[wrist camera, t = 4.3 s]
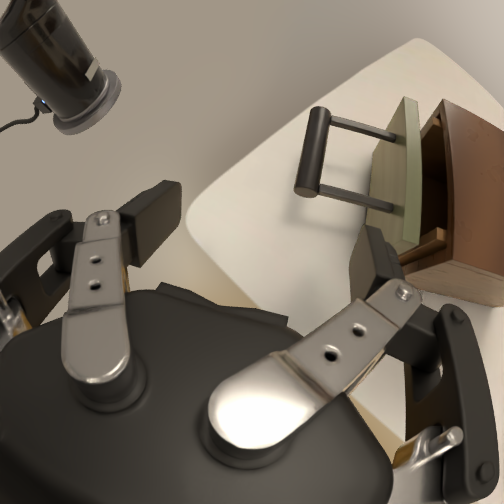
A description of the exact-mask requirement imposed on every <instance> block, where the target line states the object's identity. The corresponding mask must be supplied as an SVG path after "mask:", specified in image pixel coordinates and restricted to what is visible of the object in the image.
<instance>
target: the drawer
mask: <svg viewBox="0 0 504 504" xmlns="http://www.w3.org/2000/svg"><path fill="white" fill-rule="evenodd" d="M330 125H332V126H336V127H340V128H344V129H347V130H351V131H355V132H358V133H362V134H365V135H369V136H372V137H375V138H378V139H380V141H379V143H378V145H377V146H376V148H375V150H374V152H373V158H372V171H371V182H370V192H369V196H366V195H362V194H359V193H355V192H351V191H348V190H344V189H340V188H336V187H332V186H328V185H324V184H320V179H321V174H322V168H323V163H324V157H325V151H326V145H327V139H328V133H329V126H330ZM293 190H294V192H295V193H296V194H297V195H299V196H302V197H306V198H314V197H316V196H317V195H322V196H326V197H330V198H334V199H337V200H341V201H345V202H349V203H353V204H356V205H360V206H364V207H367V208H368V209H367V217H366V225H370V226H373V227H377V228H380V229H381V231H382V234H383V237H384V240H385V242H389V243H390V244H391V245H392V246H393V248H394V249H395V250H396V252H397V255H398V259H399V261H400V265H401V266H405V265H407V264H410V263H412V262H415V261H417V260H420V259H422V258H425V257H427V256H429V255H432V254H434V253H437V252H439V251H441V250H444V249H446V248H447V227H448V189H447V168H446V155H445V145H444V136H443V129H442V122H441V120H439V119H437V118H434V117H432V119H431V120H430V121H429V123H428V124H427V126H426V127H425V128H424V130H423V131H422V132H421V134H420V124H419V113H418V104H417V101H415V100H413V99H410V98H407V97H405V96H404V97H403V99H402V101H401V102H400V104H399V106H398V108H397V110H396V112H395V114H394V116H393V117H392V119H391V121H390V123H389V125H388V127H387V128H386V130H382V129H379V128H376V127H373V126H369V125H366V124H363V123H359V122H356V121H352V120H348V119H344V118H341V117H337V116H333V115H332V116H331V113H330V111H329V110H328V109H326V108H324V107H320V106H317V107H313V108H312V109H311V111H310V115H309V120H308V125H307V130H306V134H305V139H304V144H303V148H302V153H301V158H300V162H299V167H298V171H297V176H296V180H295V184H294V189H293Z"/></svg>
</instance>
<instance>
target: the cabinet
mask: <svg viewBox="0 0 504 504" xmlns="http://www.w3.org/2000/svg"><path fill="white" fill-rule="evenodd" d="M432 117H434V118H437V119H439V120H441V122H442V129H443V136H444V145H445V155H446V168H447V189H448V227H447V248H446V249H444V250H441V251H439V252H437V253H434V254H432V255H429V256H427V257H425V258H422V259H420V260H417V261H415V262H412V263H410V264H407V265H405V266H401V267H402V270H403V273H404V276H405V280H406V281H407V282H409V283H411V284H412V285H413V286H415V287H416V288H417V289H420V290H424V291H428V292H432V293H437V294H441V295H445V296H449V297H453V298H457V299H461V300H465V301H469V302H473V303H477V304H481V305H486V306H490V307H504V131H502V130H500V129H499V128H497V127H496V126H494V125H492V124H491V123H489V122H487V121H485V120H484V119H482V118H480V117H478V116H477V115H475V114H473V113H471V112H469V111H467V110H465V109H463V108H461V107H460V106H458V105H455V104H453V103H451V102H449V101H447V100H445V99H442V101H441V102H440V104H439V105H438V107H437V108H436V109H435V111H434V112H433V114H432V115H431V117H430V118H429V120H428V121H427V122H426V124H425V125H424V127H423V128H422V129H421V131H420V134H421V132H422V131H423V130H424V128H425V127H426V126H427V124H428V123H429V121H430V120H431V119H432Z"/></svg>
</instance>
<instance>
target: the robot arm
mask: <svg viewBox="0 0 504 504" xmlns="http://www.w3.org/2000/svg"><path fill="white" fill-rule="evenodd" d="M0 56H1V57H2V58H3V59H4V60H5V61H6V62H7V63H8V64H9V66H11V68H12V69H13V70H14V71H15V72H16V73H17V74H18V75H19V76H20V77H21V78H22V79H23V81H24V83H25V84H26V85H27V86H28V87H29V88H30V89H31V90H32V91H33V92H34V93H35V94H36V95H37V98H36V99H35V101H34V102H33V104H34V105H35V108H34V110H35V115H34V116H33V117H32V118H30V119H22V120H15V121H12V122H10V123H8V124H6V125H5V126H3V127H1V128H0V132H2V131H4V130H5V129H7V128H9V127H11V126H13V125H16V124H27V123H31V122H33V121H35V120H36V118H37V117H38V116H39V110H40V111H41V112H42V113H43V114H44V113H51V112H53V113H54V114H55V115H57V117H58V118H59V119H60V120H61V121H63V122H66V123H69V122H73V121H76V120H78V119H80V118H82V117H84V116H85V115H87V114H88V113H89V112H90V111H92V110H93V109H94V108H95V107H96V106H97V105H98V104H99V103H100V102H101V100H102V99H103V98H104V96H105V95H106V93H107V91H108V89H109V85H110V81H109V78H108V77H107V75H106V74H105V73H104V72H103V71H102V69H101V68H100V66H99V64H100V63H99V62H98V60H97V59H96V57H95V58H94V57H93V55H92V54H91V52H90V51H89V49H88V48H87V46H86V44H85V43H84V42H83V40H82V38H81V37H80V35H79V34H78V32H77V31H76V29H75V27H74V26H73V24H72V23H71V21H70V20H69V18H68V16H67V15H66V14H65V12H64V10H63V9H62V7H61V6H60V4H59V2H58V1H57V0H10V2H9V4H8V6H7V8H6V10H5V11H4V13H3V14H2V16H1V17H0ZM181 197H182V187H181V184H180V183H179V182H174V181H167V180H163V181H162V182H160V183H159V184H158V185H156V186H154V187H153V188H151V189H148V190H146V191H143V192H141V193H140V194H138V195H137V196H136V197H134V198H133V199H131V200H130V201H129V202H127V203H126V204H124V205H123V206H122V207H120V208H119V209H118V210H116V211H113V210H102V211H98V212H95V213H93V214H91V215H90V216H88V218H87V219H86V221H85V222H73V219H72V214H71V212H70V211H68V210H57V211H53V212H51V213H49V214H47V215H46V216H44V217H43V218H42V219H40V220H39V221H38V222H36V223H35V224H34V225H33V226H31V227H30V228H29V229H27V230H26V231H25V232H24V233H23V234H21V235H20V236H19V237H18V238H16V239H15V240H14V241H13V242H12V243H11V244H9V245H8V246H7V247H6V248H5V249H3V250H2V251H1V252H0V504H470V503H473V502H476V501H478V500H481V499H483V498H485V497H487V496H489V495H490V494H491V493H492V492H493V490H494V489H495V487H496V485H497V483H498V479H499V452H498V440H497V431H496V424H495V417H494V410H493V405H492V399H491V394H490V389H489V385H488V380H487V376H486V372H485V368H484V364H483V360H482V356H481V353H480V349H479V346H478V343H477V339H476V336H475V333H474V330H473V327H472V324H471V321H470V319H469V317H468V316H467V314H466V313H465V312H464V311H463V310H462V309H460V308H459V307H457V306H455V305H453V304H445V305H443V306H442V308H441V309H440V311H439V312H436V311H434V310H432V309H430V308H428V307H426V306H424V305H423V304H421V302H422V297H421V294H420V292H419V291H418V289H417V288H416V287H415V286H413V285H412V284H411V283H409V282H407V281H406V280H405V276H404V273H403V270H402V267H401V265H400V261H399V259H398V255H397V252H396V250H395V249H394V248H393V246H392V245H391V244H390V243H389V242H385V240H384V237H383V234H382V231H381V229H380V228H377V227H373V226H370V225H366V224H364V225H363V226H362V228H361V230H360V233H359V236H358V239H357V242H356V244H355V247H354V250H353V252H352V255H351V259H350V263H349V277H350V292H351V303H350V304H349V305H348V306H346V307H345V308H344V309H342V310H341V311H340V312H338V313H337V314H336V315H334V316H333V317H332V318H330V319H329V320H327V321H326V322H325V323H323V324H322V325H321V326H319V327H318V328H316V329H315V330H314V331H312V332H311V333H309V334H308V335H306V336H305V337H303V336H302V335H301V334H299V333H298V332H296V331H295V330H293V329H291V328H289V327H287V322H288V316H284V315H280V314H276V313H272V312H268V311H264V310H260V309H256V308H243V307H230V306H220V305H217V304H215V303H213V302H211V301H209V300H207V299H205V298H204V297H202V296H200V295H198V294H196V293H194V292H192V291H190V290H187V289H183V288H180V287H177V286H173V285H170V284H167V283H164V282H161V283H160V284H159V286H158V287H157V288H156V290H136V291H131V292H130V287H129V280H128V271H127V266H128V265H132V266H135V267H139V268H141V267H142V265H143V264H144V263H145V262H146V261H147V260H148V259H149V258H150V256H151V255H152V254H153V253H154V252H155V251H156V250H157V249H158V248H159V246H160V245H161V244H162V243H163V242H164V241H165V240H166V239H167V238H168V237H169V236H170V234H171V233H172V232H173V231H174V230H175V229H176V228H177V227H178V225H179V223H180V219H181ZM48 250H49V251H50V254H51V257H52V261H53V264H52V265H51V266H50V267H49V268H48V270H46V271H45V272H44V273H43V274H42V275H41V276H40V277H39V274H38V271H37V263H38V260H39V259H40V258H41V257H42V256H43V255H44V254H45V253H46V252H47V251H48ZM69 289H70V291H69V302H68V311H67V312H65V313H64V315H63V317H61V318H58V319H55V320H53V321H50V322H47V323H45V324H42V325H40V324H41V323H42V322H43V321H44V319H45V318H46V317H47V316H48V314H49V313H50V312H51V310H52V309H53V308H54V307H55V306H56V304H57V303H58V302H59V301H60V300H61V298H62V297H63V296H64V295H65V294H66V293H67V291H68V290H69ZM386 354H388V355H390V356H392V357H394V358H396V359H398V360H400V361H402V362H404V374H405V396H406V436H405V443H403V444H402V445H401V446H400V447H399V448H398V449H397V451H396V453H395V457H394V460H393V464H391V462H390V459H389V457H388V456H387V454H386V452H385V450H384V449H383V448H382V446H381V445H380V443H379V442H378V440H377V439H376V437H375V436H374V434H373V433H372V431H371V430H370V428H369V427H368V425H367V424H366V423H365V421H364V419H363V418H362V416H361V415H360V414H359V412H358V411H357V409H356V407H355V406H354V404H353V403H352V401H351V400H350V398H349V397H348V396H349V395H350V394H351V393H352V392H353V391H354V390H355V389H356V388H357V387H358V385H359V384H360V383H361V382H362V381H363V380H364V379H365V378H366V377H367V376H368V375H369V374H370V372H371V371H372V370H373V369H374V368H375V367H376V366H377V365H378V364H379V362H380V361H381V360H382V359H383V358H384V357H385V355H386ZM441 365H442V366H443V374H442V378H441V376H440V369H439V367H440V366H441Z"/></svg>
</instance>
